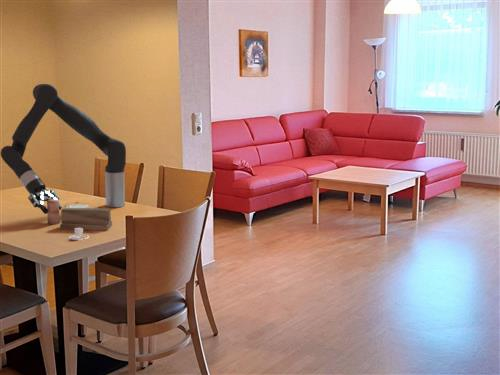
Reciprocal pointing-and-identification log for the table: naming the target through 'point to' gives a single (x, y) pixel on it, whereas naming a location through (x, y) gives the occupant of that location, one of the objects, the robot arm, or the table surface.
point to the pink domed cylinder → (53, 212)
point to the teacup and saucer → (77, 234)
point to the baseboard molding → (77, 206)
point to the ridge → (86, 218)
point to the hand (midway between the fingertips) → (53, 210)
